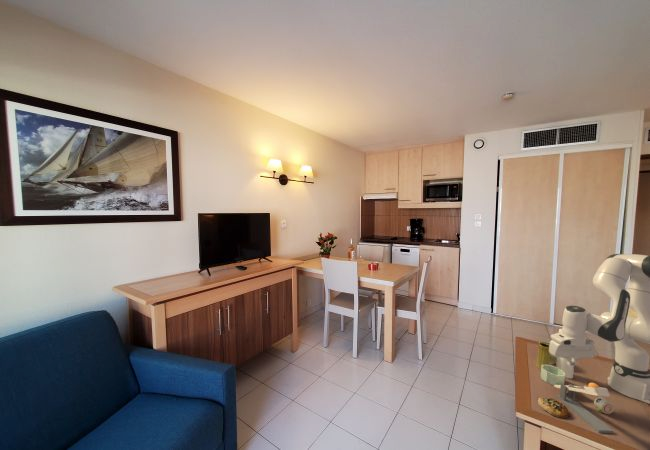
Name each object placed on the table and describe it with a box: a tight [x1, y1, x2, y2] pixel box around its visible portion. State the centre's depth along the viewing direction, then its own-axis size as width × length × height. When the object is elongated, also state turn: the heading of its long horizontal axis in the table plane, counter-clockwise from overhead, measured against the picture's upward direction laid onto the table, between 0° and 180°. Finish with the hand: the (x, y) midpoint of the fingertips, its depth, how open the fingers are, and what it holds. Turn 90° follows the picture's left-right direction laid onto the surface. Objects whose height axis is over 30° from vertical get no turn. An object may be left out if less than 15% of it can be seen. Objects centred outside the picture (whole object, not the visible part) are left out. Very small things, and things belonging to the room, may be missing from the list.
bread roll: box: [537, 396, 570, 419], centre depth 117 cm, size 11×11×5 cm
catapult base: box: [555, 383, 614, 434], centre depth 115 cm, size 20×6×8 cm, turn 179°
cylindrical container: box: [555, 328, 575, 379], centre depth 142 cm, size 7×7×25 cm
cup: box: [540, 364, 566, 386], centre depth 137 cm, size 10×10×6 cm
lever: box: [553, 384, 611, 397], centre depth 118 cm, size 26×13×3 cm, turn 179°
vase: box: [535, 342, 551, 371], centre depth 148 cm, size 6×6×14 cm
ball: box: [587, 382, 600, 388], centre depth 110 cm, size 4×4×4 cm
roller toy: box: [593, 396, 615, 415], centre depth 117 cm, size 4×6×6 cm
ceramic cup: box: [538, 341, 557, 365], centre depth 156 cm, size 13×10×10 cm
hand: (571, 364), depth 127 cm, fingers closed
